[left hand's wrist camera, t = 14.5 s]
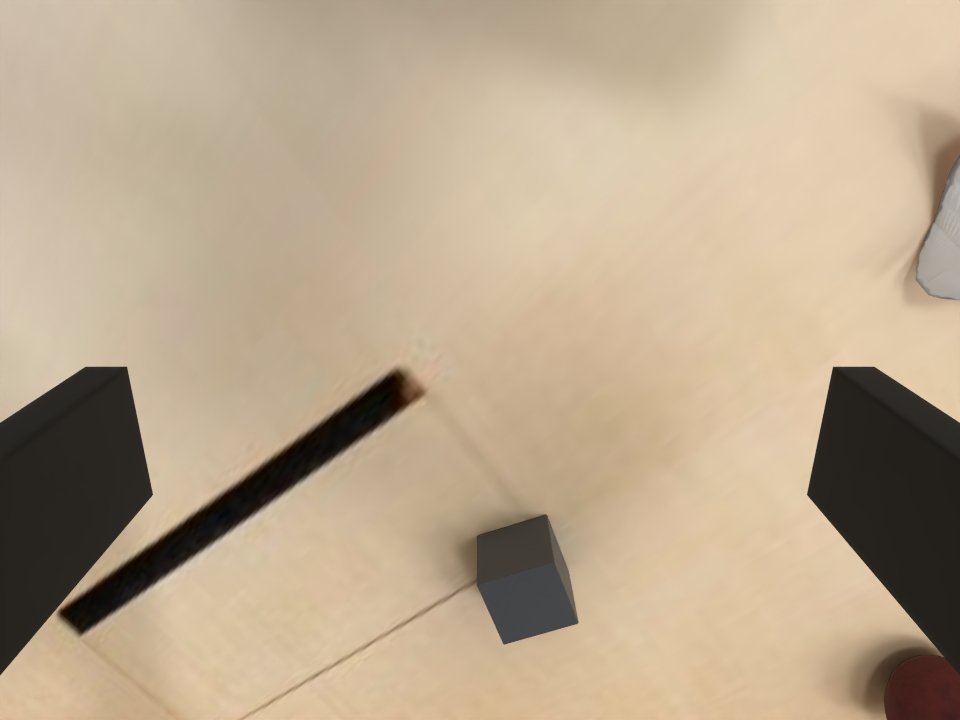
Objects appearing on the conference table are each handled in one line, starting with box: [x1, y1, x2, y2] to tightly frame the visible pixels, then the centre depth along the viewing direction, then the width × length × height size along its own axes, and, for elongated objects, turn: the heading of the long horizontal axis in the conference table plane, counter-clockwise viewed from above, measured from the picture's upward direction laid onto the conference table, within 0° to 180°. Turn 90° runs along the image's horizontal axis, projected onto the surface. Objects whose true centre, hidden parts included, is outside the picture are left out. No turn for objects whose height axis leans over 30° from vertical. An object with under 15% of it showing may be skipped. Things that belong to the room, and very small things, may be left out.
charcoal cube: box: [477, 515, 578, 644], centre depth 43 cm, size 5×5×5 cm
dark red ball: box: [884, 655, 960, 720], centre depth 46 cm, size 7×8×7 cm
